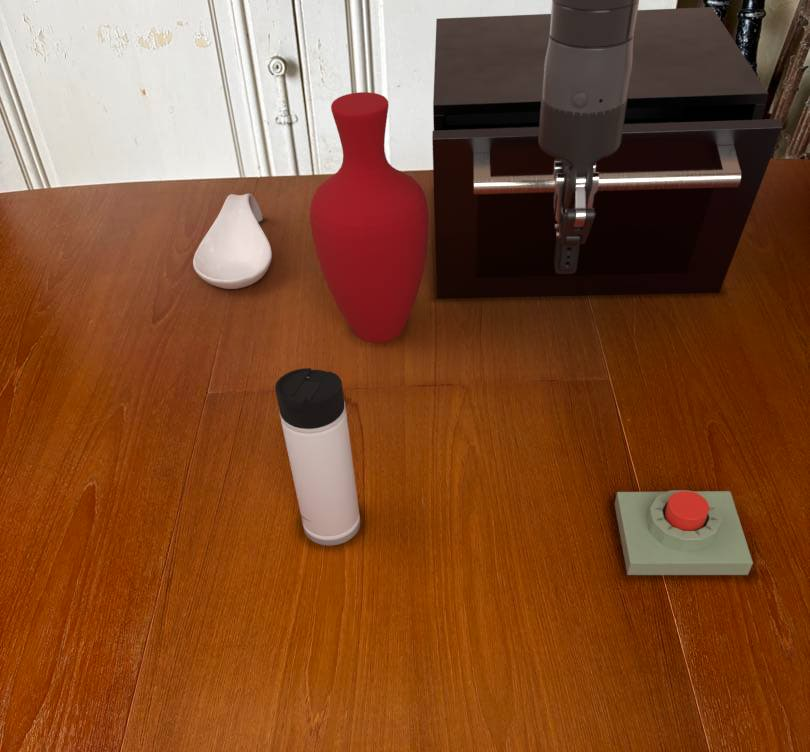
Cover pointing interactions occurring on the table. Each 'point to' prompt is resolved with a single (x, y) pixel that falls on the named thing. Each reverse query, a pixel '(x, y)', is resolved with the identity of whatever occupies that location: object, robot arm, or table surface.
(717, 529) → the timer box
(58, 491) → the table surface
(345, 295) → the vase
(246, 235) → the spoon rest
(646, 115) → the oven
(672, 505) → the button
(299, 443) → the travel mug
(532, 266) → the oven door
